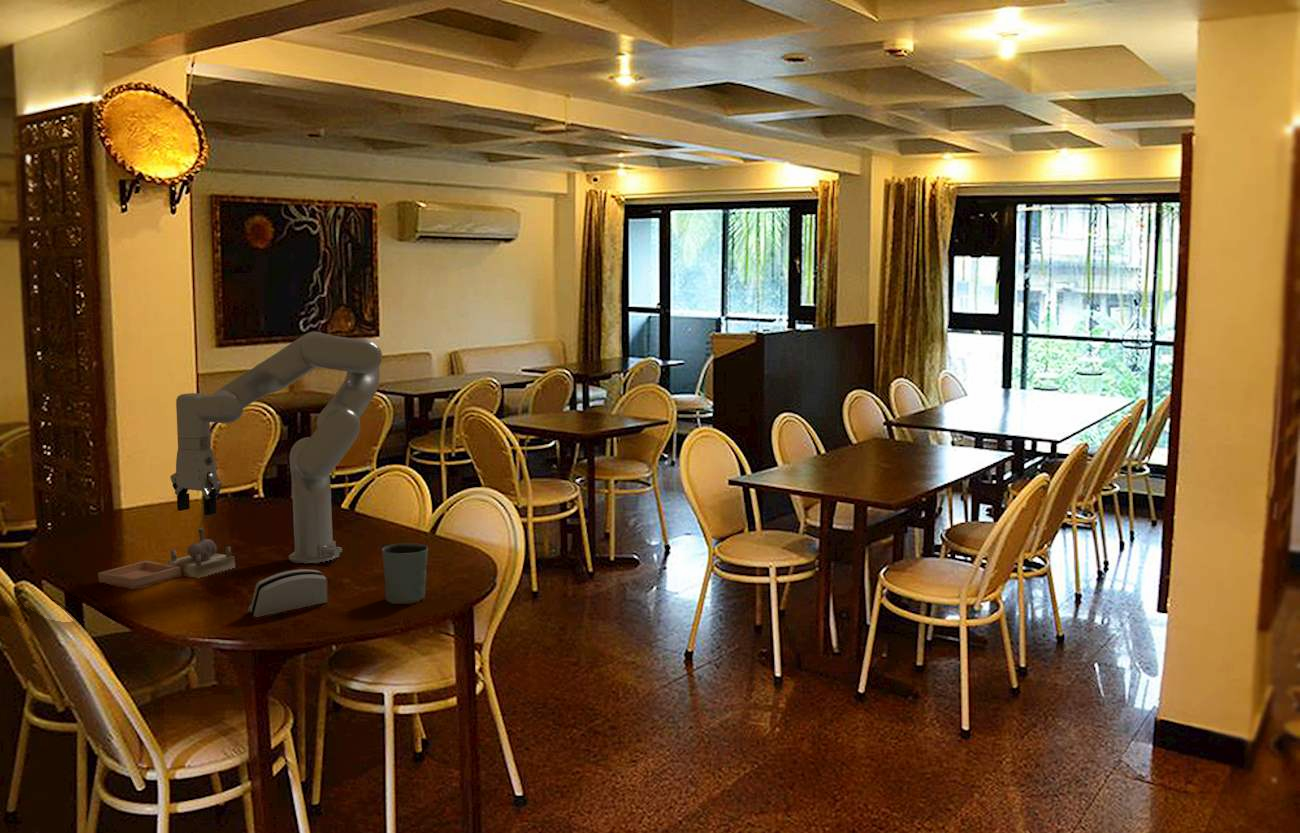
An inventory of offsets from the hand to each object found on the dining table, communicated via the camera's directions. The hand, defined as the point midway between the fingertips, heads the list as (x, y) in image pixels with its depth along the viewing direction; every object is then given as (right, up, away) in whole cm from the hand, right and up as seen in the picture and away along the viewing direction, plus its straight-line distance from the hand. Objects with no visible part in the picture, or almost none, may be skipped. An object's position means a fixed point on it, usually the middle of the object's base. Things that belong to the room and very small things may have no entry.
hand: (196, 512), depth 276 cm
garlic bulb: (+1, -12, +2) cm, 12 cm away
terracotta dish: (-11, -16, -6) cm, 20 cm away
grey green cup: (+57, -18, -23) cm, 64 cm away
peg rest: (0, -15, +2) cm, 15 cm away
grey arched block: (+33, -19, -30) cm, 49 cm away
